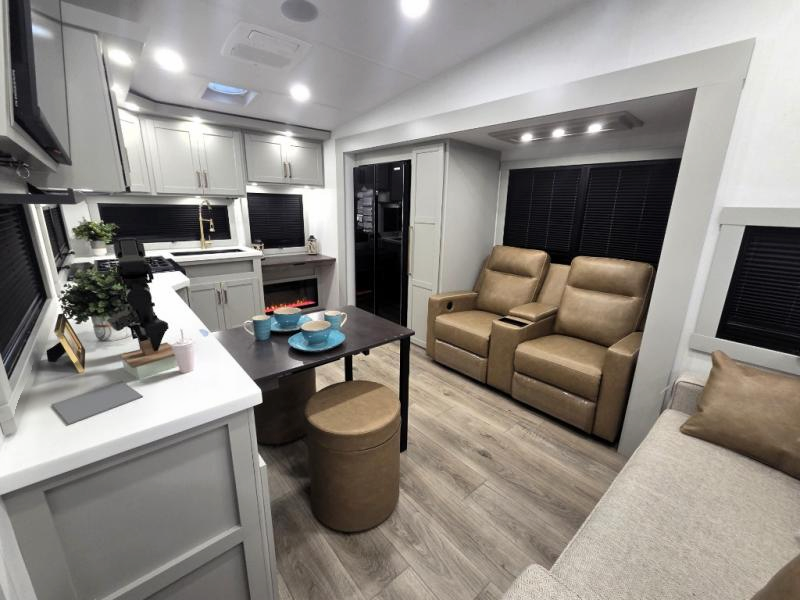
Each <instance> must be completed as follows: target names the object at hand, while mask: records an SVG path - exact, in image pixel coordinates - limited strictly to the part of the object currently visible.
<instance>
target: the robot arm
mask: <svg viewBox="0 0 800 600" xmlns="http://www.w3.org/2000/svg"><path fill="white" fill-rule="evenodd" d="M112 246H113V251H114V255H115V259H117V261H118V264H117V265H116V266H115V267H116V272H117V277H118V282H119V286H120V287H124V289H125V293H126V294H125V296H126V302H127V304H126V306H125V309H126V310H124V311H121V312H119V313H117V314H115V315H113V316H111V317H109V318H108V319H106V322H107V323H108V324H109V325H110V327H111V328H112V329H113V330H115V331H117V332H119V331H122V330H124V328H128V329H130V332H131V338H132V340H136V339H137V342H138V346H139V349H142V348H141V344H140V342H141V341H145V340H149V341H150V344H151V346H152V348H153V351H158V349H159V347H160V344H162V341H163V338H164V336H165V334H166V332H167V331H168V330H169V323H168V322H167V321H166V320H162V319H160V318H159V317H158V315H157V314H156V312H155V311H154V307H156V304H155V302H153V301H152V300H153V296H152V294H151V293H152V292H151V290H150V285H149V284H153V280H154V279H155V278H154V277H155V276H154V274H153V269H152V266H151V265H150V264H149V263H148V262H146V260H145V257H147V255H146V249H145V245H144V243H143V242H141V241H139V240H138V239H137V238H135V237H125V238H124V237H123V238H118V239H117V242H116V243H113V245H112Z"/></svg>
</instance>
